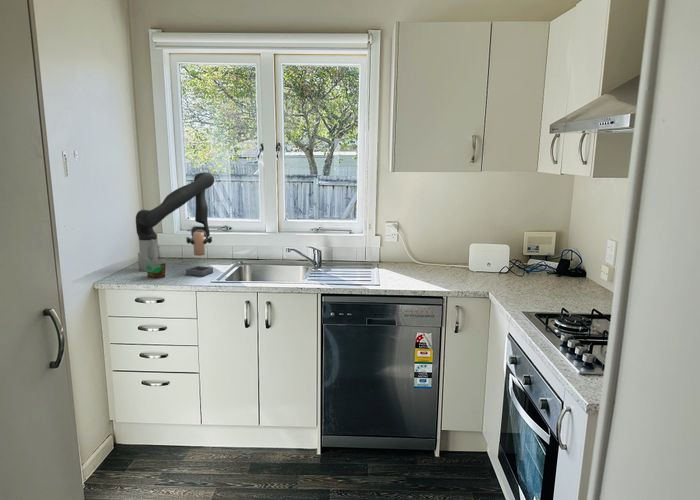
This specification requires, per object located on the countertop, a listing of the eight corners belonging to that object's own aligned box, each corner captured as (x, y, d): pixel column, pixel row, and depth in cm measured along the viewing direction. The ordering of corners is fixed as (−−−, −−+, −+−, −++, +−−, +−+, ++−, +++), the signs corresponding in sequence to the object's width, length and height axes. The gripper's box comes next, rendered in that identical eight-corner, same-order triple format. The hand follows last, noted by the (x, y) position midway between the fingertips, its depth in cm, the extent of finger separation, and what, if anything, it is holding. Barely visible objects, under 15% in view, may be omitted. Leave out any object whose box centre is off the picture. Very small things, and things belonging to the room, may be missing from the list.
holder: (186, 275, 254) (185, 269, 254) (197, 271, 264) (197, 265, 263) (202, 276, 251) (202, 271, 251) (213, 272, 261) (213, 267, 260)
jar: (191, 255, 254) (190, 233, 251) (197, 253, 259) (196, 231, 257) (201, 255, 252) (200, 233, 250) (206, 253, 258) (206, 232, 255)
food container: (139, 277, 246) (138, 259, 244) (147, 275, 252) (146, 256, 250) (159, 280, 243) (158, 261, 241) (167, 277, 248) (166, 258, 246)
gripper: (186, 230, 265) (184, 235, 249) (212, 230, 269) (212, 235, 253) (186, 244, 267) (184, 249, 251) (213, 243, 271) (212, 249, 255)
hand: (198, 242), depth 252 cm, fingers closed on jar, 5 cm apart
